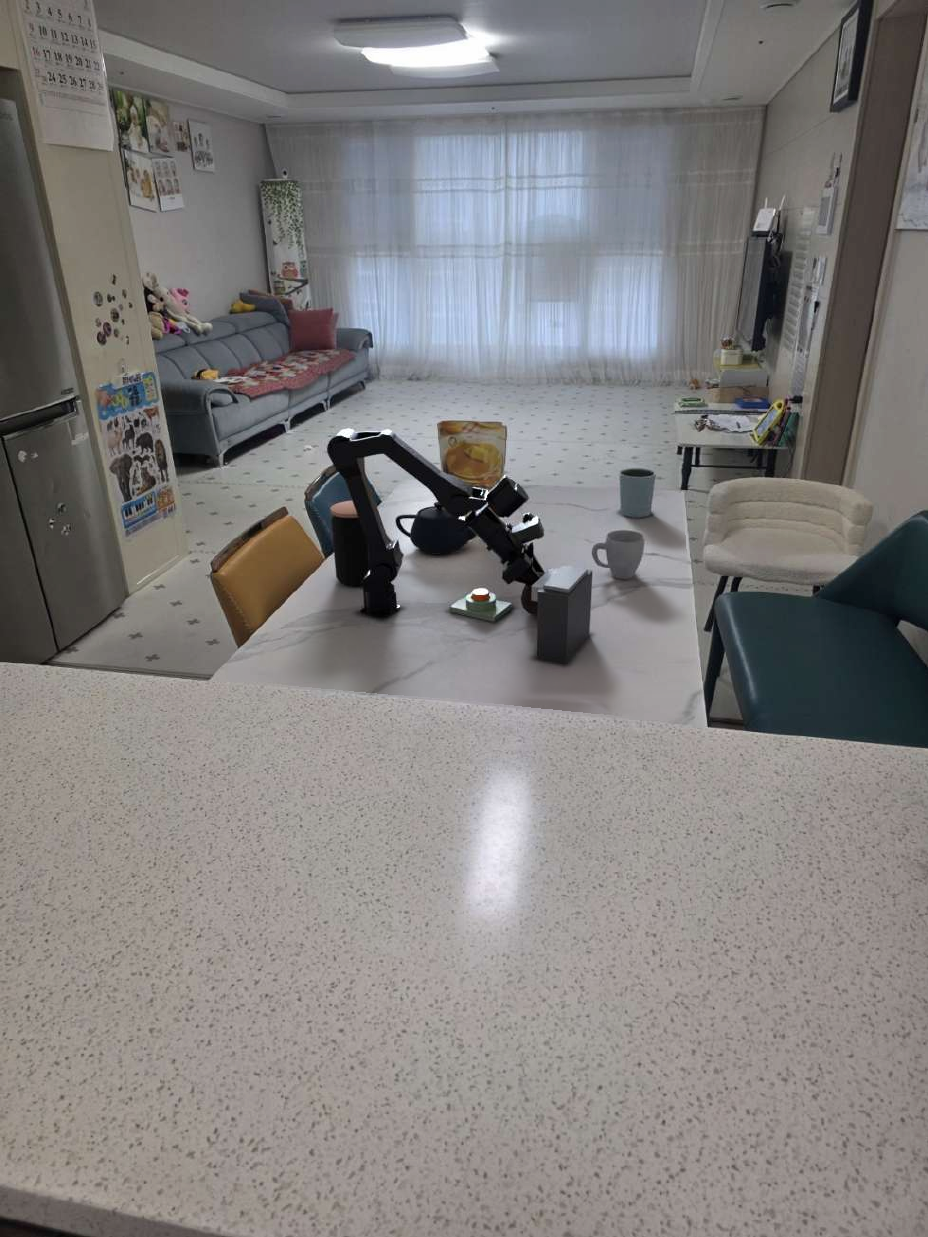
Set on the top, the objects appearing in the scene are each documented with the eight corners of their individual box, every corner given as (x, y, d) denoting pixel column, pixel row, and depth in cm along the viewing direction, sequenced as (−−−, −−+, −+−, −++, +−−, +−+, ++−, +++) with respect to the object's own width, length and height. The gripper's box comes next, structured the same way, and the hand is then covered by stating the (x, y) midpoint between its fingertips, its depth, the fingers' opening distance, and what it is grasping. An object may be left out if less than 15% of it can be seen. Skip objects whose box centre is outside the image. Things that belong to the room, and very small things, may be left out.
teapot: (389, 556, 209) (387, 510, 204) (403, 536, 223) (401, 492, 218) (487, 560, 205) (486, 513, 200) (495, 539, 219) (495, 495, 214)
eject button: (469, 600, 177) (469, 592, 176) (477, 594, 180) (477, 587, 179) (483, 603, 175) (483, 596, 175) (492, 597, 178) (492, 590, 177)
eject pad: (449, 611, 178) (449, 598, 177) (468, 598, 184) (468, 586, 183) (494, 622, 173) (493, 609, 172) (512, 608, 179) (512, 595, 178)
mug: (638, 567, 199) (641, 529, 195) (644, 581, 191) (647, 542, 187) (588, 568, 200) (590, 530, 196) (592, 581, 192) (594, 542, 188)
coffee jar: (390, 575, 198) (385, 503, 190) (367, 591, 189) (361, 516, 182) (352, 569, 202) (346, 498, 194) (327, 584, 193) (320, 510, 186)
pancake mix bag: (442, 515, 239) (439, 418, 228) (507, 518, 235) (507, 420, 224) (436, 522, 233) (433, 423, 222) (503, 526, 230) (503, 425, 218)
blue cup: (655, 518, 233) (659, 476, 228) (619, 518, 233) (622, 477, 228) (648, 507, 242) (652, 467, 237) (614, 507, 243) (616, 467, 238)
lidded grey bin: (526, 656, 159) (527, 585, 152) (552, 627, 170) (554, 560, 164) (565, 664, 155) (568, 592, 149) (589, 634, 167) (592, 566, 160)
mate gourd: (527, 602, 180) (528, 559, 176) (560, 607, 177) (561, 564, 173) (515, 614, 174) (515, 570, 170) (548, 620, 171) (550, 576, 167)
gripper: (520, 520, 158) (575, 575, 161) (522, 492, 175) (572, 543, 178) (479, 557, 162) (533, 610, 166) (485, 527, 179) (535, 575, 182)
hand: (545, 583), depth 173 cm, fingers closed on mate gourd, 5 cm apart
